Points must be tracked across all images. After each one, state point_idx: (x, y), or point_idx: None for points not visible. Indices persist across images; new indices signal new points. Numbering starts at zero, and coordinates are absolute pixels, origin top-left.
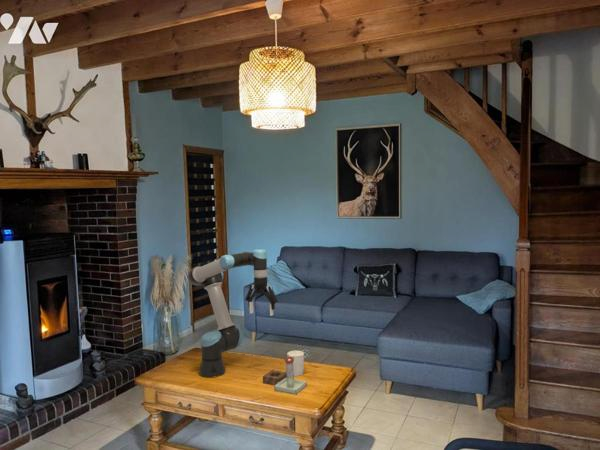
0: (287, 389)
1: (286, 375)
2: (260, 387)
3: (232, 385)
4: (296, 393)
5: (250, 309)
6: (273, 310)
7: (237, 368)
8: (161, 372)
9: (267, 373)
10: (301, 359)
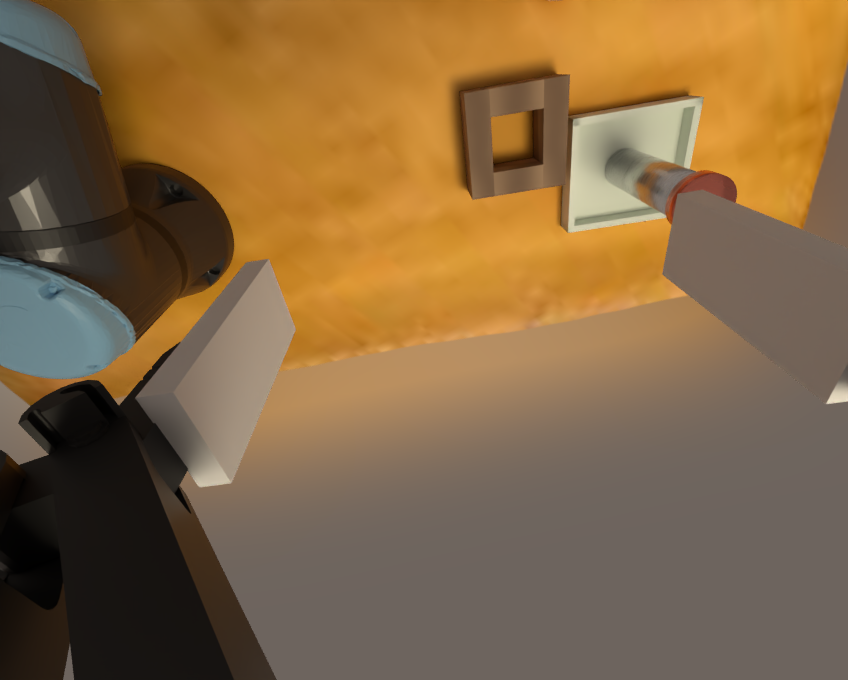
0: (634, 220)
1: (635, 197)
2: (486, 232)
3: (370, 281)
4: None
5: (271, 369)
6: (758, 219)
7: (199, 104)
8: None
9: (472, 156)
10: None
